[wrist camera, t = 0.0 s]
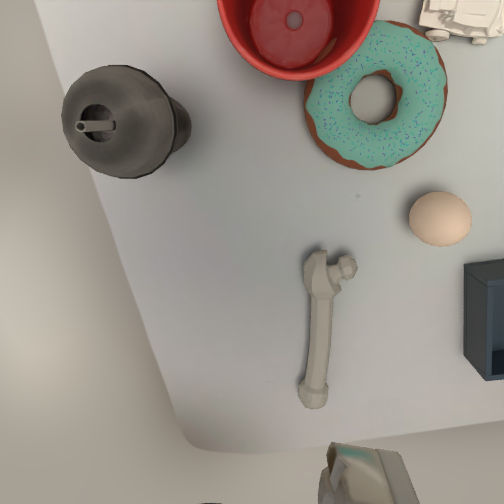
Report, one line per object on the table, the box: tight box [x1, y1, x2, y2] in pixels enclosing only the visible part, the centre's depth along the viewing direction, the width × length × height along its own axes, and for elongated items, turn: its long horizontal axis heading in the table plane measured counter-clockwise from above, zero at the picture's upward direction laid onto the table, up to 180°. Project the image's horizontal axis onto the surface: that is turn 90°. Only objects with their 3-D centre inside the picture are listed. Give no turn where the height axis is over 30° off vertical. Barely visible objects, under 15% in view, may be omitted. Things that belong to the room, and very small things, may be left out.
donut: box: [304, 20, 448, 170], centre depth 33 cm, size 12×12×4 cm
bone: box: [298, 250, 358, 409], centre depth 40 cm, size 18×5×4 cm, turn 173°
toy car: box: [419, 0, 504, 45], centre depth 31 cm, size 5×8×4 cm, turn 84°
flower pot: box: [217, 0, 380, 81], centre depth 29 cm, size 11×11×10 cm
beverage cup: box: [61, 65, 191, 179], centre depth 27 cm, size 7×7×20 cm
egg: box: [409, 192, 472, 247], centre depth 35 cm, size 5×5×7 cm
